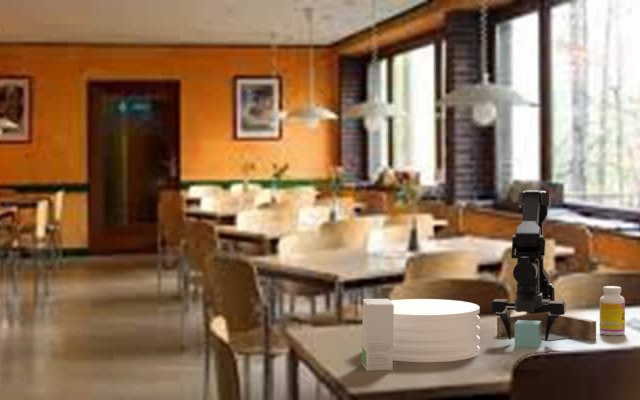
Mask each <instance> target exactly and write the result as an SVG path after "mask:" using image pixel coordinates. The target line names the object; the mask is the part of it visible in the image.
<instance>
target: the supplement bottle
mask: <svg viewBox="0 0 640 400" xmlns="http://www.w3.org/2000/svg"><path fill="white" fill-rule="evenodd" d="M602 290H603V295H602V296H601V297H600V298H599V333H600V334H601V335H604V336H623V335H624V334H625V332H626V331H625V330H626V315H625V314H626V306H625V305H626V301H625V298H624V297H623V295H621V294H622V287H621V286H617V285H606V286H603V287H602Z"/></svg>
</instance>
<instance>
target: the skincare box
mask: <svg viewBox="0 0 640 400" xmlns="http://www.w3.org/2000/svg"><path fill="white" fill-rule="evenodd" d="M390 300H391V299H389V298H363V299H362V328H361V329H362V330H361V333H362V335H361V336H362V337H361V339H362V340H361V341H362V342H361V364H362V366H363V368H364V369H365V371H366V372H374V371H375V372H376V371H377V372H380V371H383V372H384V371H393V366H394V365H393V363H394V360H393V320H394V305H393V304H392V301H390Z"/></svg>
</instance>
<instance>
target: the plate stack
mask: <svg viewBox="0 0 640 400" xmlns="http://www.w3.org/2000/svg"><path fill="white" fill-rule="evenodd" d="M389 300H390V301H392V304H393V305H394V320H393V361H396V362H410V363H440V362H441V363H442V362H454V361H455V362H456V361H463V360H467V359H468V360H469V359H472V358H475V357H476V356H477V357H478V355H479V354H480V351H481V348H480V346H479V345H480V343H481V341H480V340H481V337H480V336H479V334H480V332H481V331H480V330H481V329H480V327H481V326H479V324H480V321H481V320H480V318H481V317H480V316H479V314H480V311H481V310H480V309H481V308H480V305H478V304H476V303H473V302H468V301H462V300H455V299H454V300H453V299H439V298H438V299H437V298H436V299H435V298H433V299H432V298H409V299H408V298H406V299H393V300H391V299H389Z"/></svg>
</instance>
